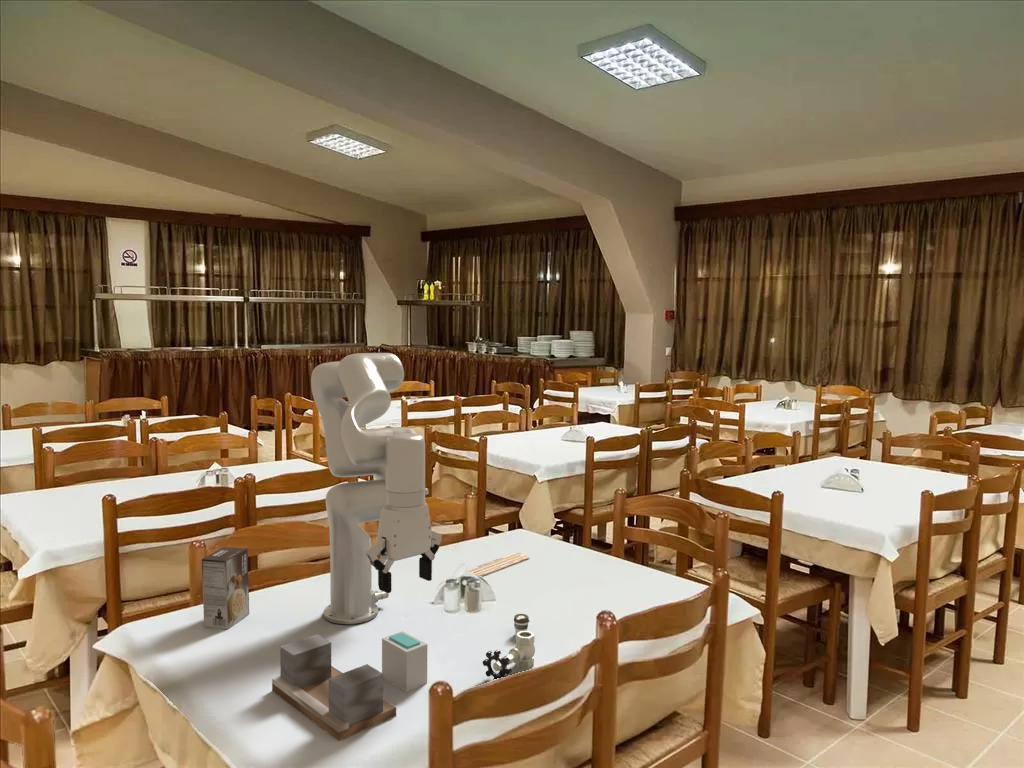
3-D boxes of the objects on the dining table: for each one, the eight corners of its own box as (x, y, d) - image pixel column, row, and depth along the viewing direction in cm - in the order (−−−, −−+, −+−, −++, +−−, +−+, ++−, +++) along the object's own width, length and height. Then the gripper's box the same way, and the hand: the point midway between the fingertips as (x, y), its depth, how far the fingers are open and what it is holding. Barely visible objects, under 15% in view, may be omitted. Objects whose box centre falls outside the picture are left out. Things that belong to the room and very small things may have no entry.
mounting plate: (327, 670, 156) (327, 629, 155) (396, 715, 140) (396, 670, 139) (272, 690, 148) (271, 648, 147) (338, 740, 132) (338, 693, 131)
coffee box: (225, 611, 184) (224, 545, 183) (250, 614, 183) (249, 547, 181) (202, 627, 175) (201, 558, 174) (228, 630, 174) (227, 560, 172)
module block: (402, 668, 158) (402, 629, 157) (427, 683, 152) (427, 642, 151) (382, 677, 154) (382, 636, 153) (406, 692, 149) (406, 650, 148)
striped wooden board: (473, 583, 208) (473, 576, 208) (454, 576, 212) (454, 570, 212) (529, 561, 226) (529, 555, 225) (511, 555, 230) (511, 549, 230)
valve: (517, 656, 164) (482, 678, 155) (518, 626, 164) (482, 646, 154) (543, 665, 160) (508, 688, 151) (544, 635, 160) (509, 656, 150)
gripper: (428, 488, 158) (428, 570, 159) (356, 502, 146) (356, 590, 147) (452, 494, 152) (452, 579, 154) (379, 509, 140) (380, 601, 142)
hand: (405, 584), depth 151 cm, fingers open, 9 cm apart
